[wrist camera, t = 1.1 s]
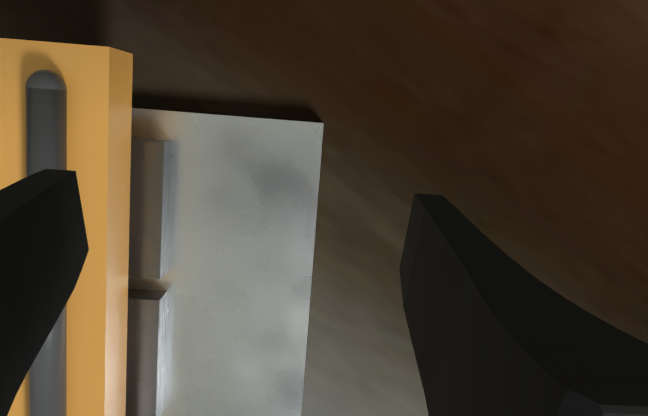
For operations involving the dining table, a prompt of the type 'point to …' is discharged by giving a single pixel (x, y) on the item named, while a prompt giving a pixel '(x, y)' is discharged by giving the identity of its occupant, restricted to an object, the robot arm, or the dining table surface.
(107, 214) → the cable arm
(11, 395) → the robot arm
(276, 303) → the server panel
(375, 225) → the dining table surface
